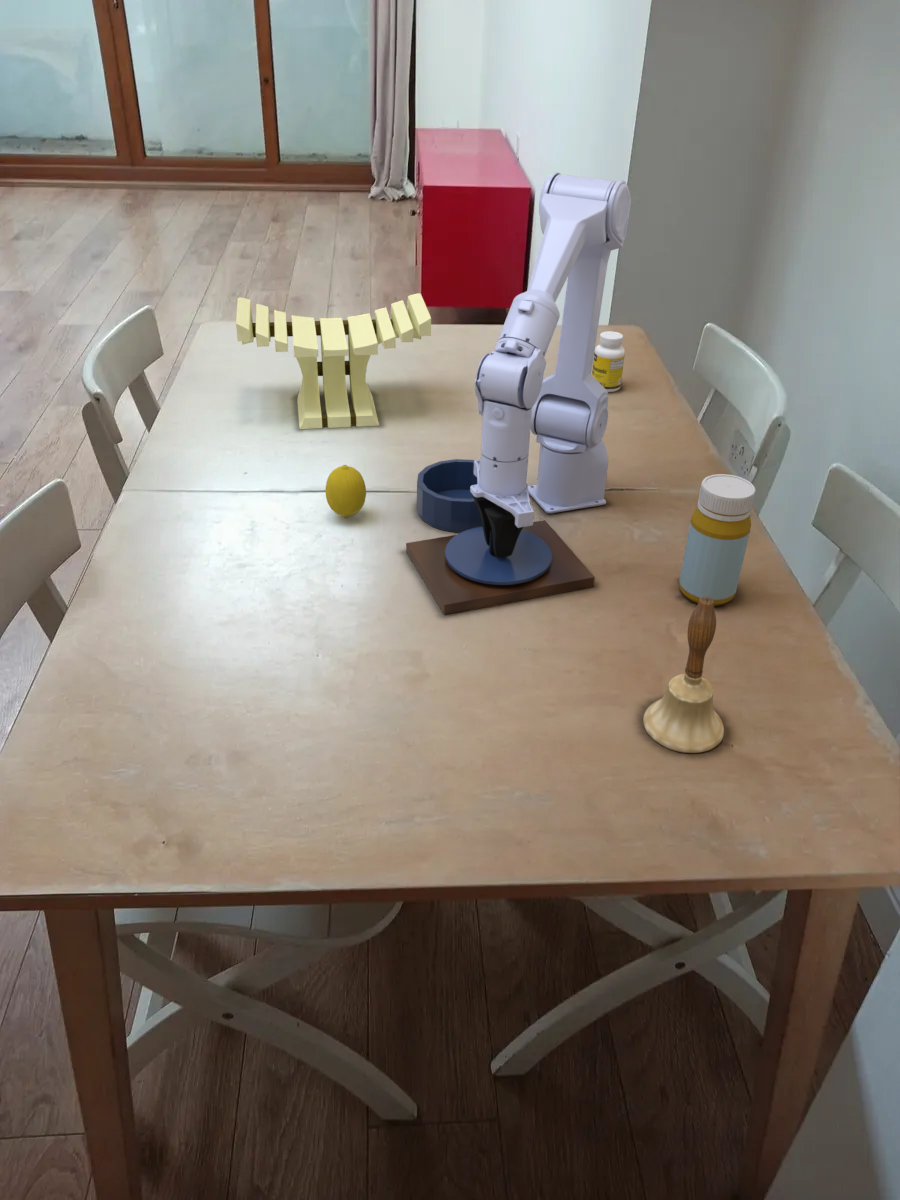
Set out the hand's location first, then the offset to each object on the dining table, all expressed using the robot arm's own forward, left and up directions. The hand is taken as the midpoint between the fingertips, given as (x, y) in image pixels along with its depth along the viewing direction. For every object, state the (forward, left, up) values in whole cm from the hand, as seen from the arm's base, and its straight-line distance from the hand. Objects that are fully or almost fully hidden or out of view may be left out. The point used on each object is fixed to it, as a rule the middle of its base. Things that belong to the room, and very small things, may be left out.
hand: (498, 549), depth 124 cm
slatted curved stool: (+7, -56, -3) cm, 57 cm away
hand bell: (-7, +34, -3) cm, 35 cm away
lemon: (+15, -19, -3) cm, 24 cm away
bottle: (-23, +13, -3) cm, 27 cm away
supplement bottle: (-42, -51, -3) cm, 66 cm away
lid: (0, 0, -1) cm, 1 cm away
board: (0, 0, -3) cm, 3 cm away
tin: (-1, -16, -3) cm, 16 cm away
